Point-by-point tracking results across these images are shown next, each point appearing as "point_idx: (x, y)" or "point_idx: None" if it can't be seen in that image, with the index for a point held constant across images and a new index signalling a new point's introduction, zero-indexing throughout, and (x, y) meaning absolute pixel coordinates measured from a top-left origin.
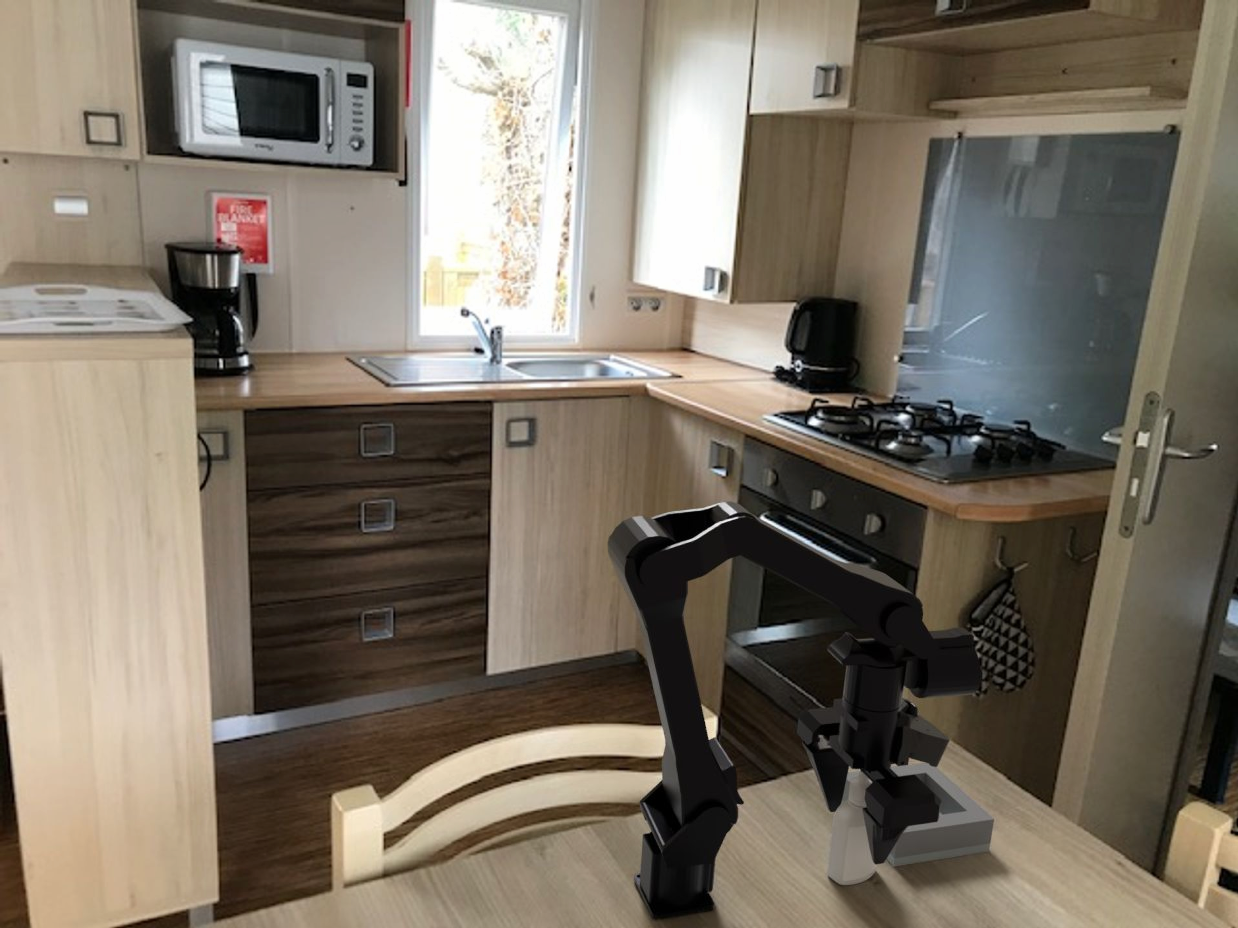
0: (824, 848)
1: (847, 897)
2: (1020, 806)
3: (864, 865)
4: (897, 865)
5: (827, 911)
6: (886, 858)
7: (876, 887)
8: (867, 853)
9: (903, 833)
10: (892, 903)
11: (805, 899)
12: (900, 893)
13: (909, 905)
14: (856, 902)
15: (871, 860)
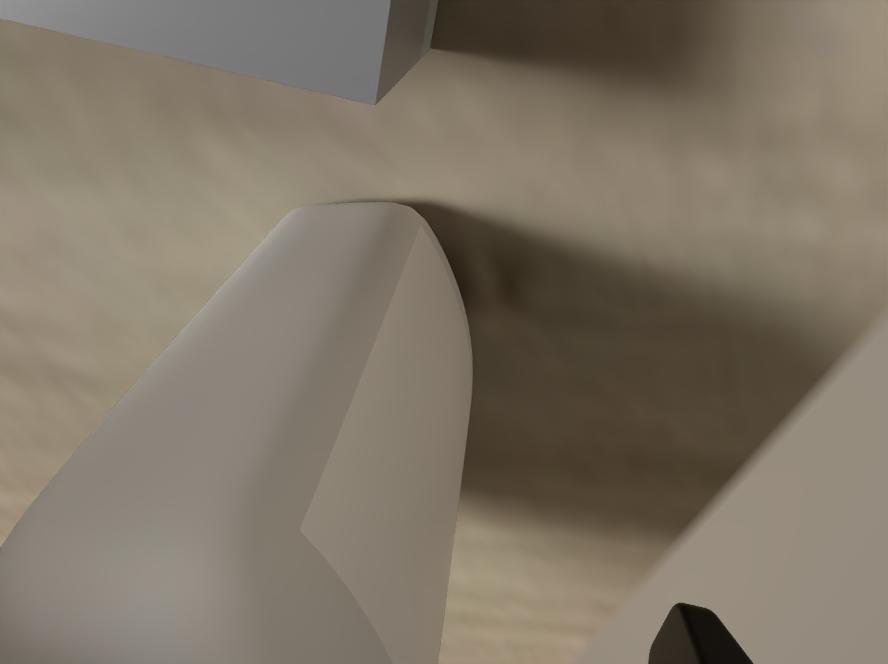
0: (123, 324)
1: (529, 490)
2: None
3: (464, 427)
4: (435, 8)
5: (559, 611)
6: (740, 649)
7: (545, 312)
8: (455, 474)
9: (391, 19)
10: (705, 333)
11: (448, 628)
12: (670, 223)
13: (785, 258)
14: (583, 481)
15: (453, 370)
